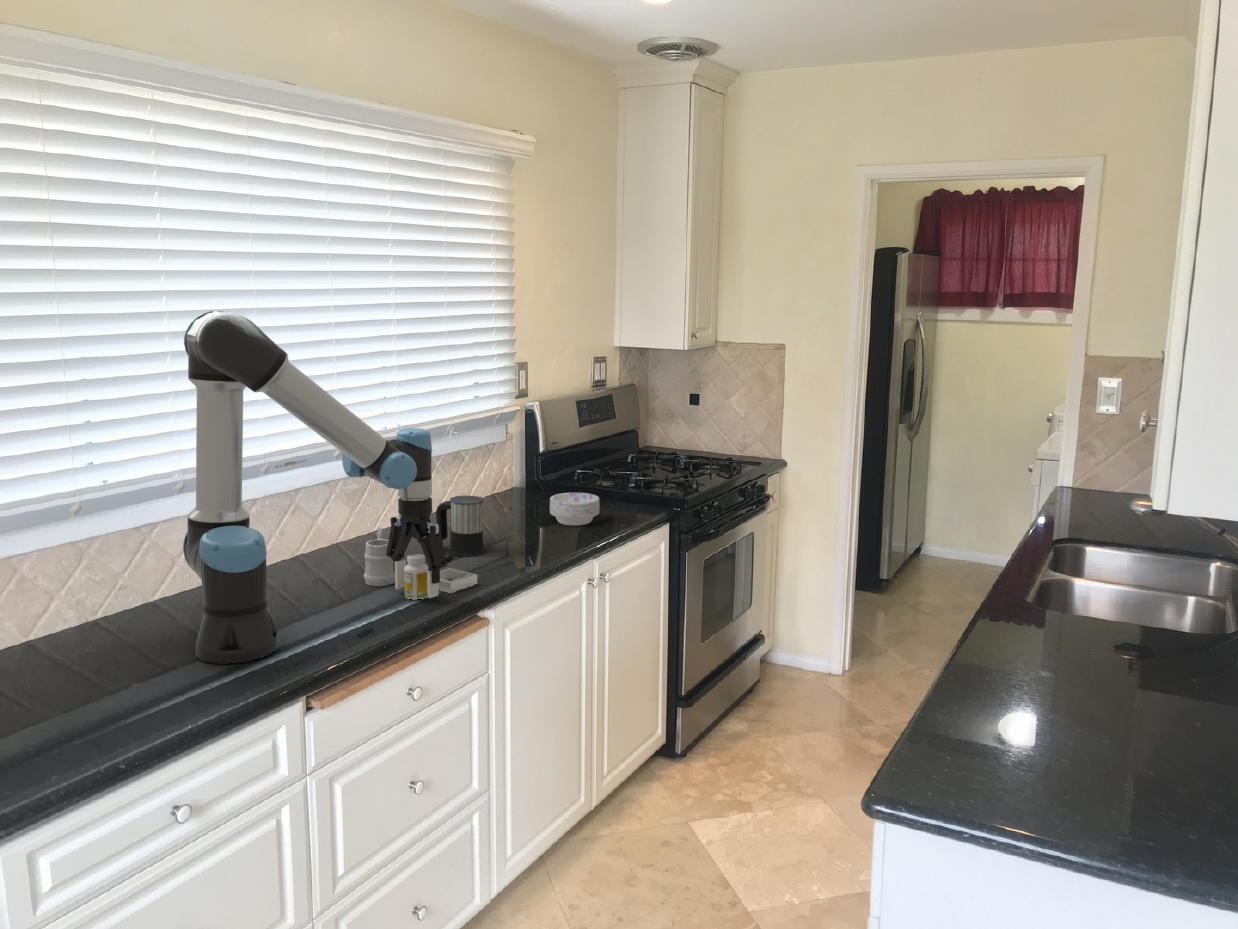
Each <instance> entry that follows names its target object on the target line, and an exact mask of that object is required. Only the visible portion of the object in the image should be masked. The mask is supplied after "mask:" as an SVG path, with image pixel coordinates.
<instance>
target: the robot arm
mask: <svg viewBox="0 0 1238 929" xmlns="http://www.w3.org/2000/svg"><path fill="white" fill-rule="evenodd" d="M183 345H184V350H185V352H186V355H187V357H188V359H187V362H188V364H187V366H188V368H187V369H188V370H187V374H188V375H187V379H188V381H189V382H190V383H191V384H192V385H193V386H195V389H196V420H195V422H196V423H195V424H196V430H195V431H196V432H195V433H196V435H195V437H196V442H195V443H196V447H195V448H196V450H195V452H196V453H195V454H196V455H195V456H196V457H195V458H196V459H195V461H196V462H195V467H196V468H195V474H196V475H195V479H196V480H195V507H194V509H192V510H191V511H190V512H189V513H187V532H186V533H185V535H184V539H183V544H182V546H183V547H182V548H183V549H182V551H183V555H184V559H185V561H186V562H187V565H188V566H189V567H190V569H191V570H192V571H194V573H195V574H196V575H197V576H198V578H199V579H200V580H201V590H202V591H201V592H202V607H203V608H202V610H203V616H202V619H201V623H200V626H199V630H198V634H197V638H196V640H195V656H196V658H197V659H199V660H200V661H203V662H206V663H209V664H216V663H217V664H219V665H226V664H227V665H230V664H229V663H234V664H240V663H239V662H243V663H247V662H252V660H253V661H256V660H255V659H257V660H259V659H258V658H260V657H262V656H266V657H268V656H270V655H272V654H273V653H272V652H274V651H275V650H276V651H277V650H279V648H280V635H279V631H278V629H277V626H276V624H275V622H274V619H273V617H272V615H271V612H270V610H269V597H268V595H269V594H268V592H269V591H268V575H267V570H268V568H267V545H266V540H265V537H264V536H263V534H262V533H261V532H260V531H259V530H258V529H255V528H253V527H251V526H250V523H251V522H250V519H251V518H250V517H251V516H250V512H248V511H247V510H246V509H245V508H244V507H243V450H244V449H243V448H244V447H243V445H244V443H243V442H244V440H243V439H244V438H243V437H244V435H243V434H244V432H243V431H244V391H245V388H246V387H247V388H248V389H249V390H250V391H252V392H253V393H263V394H265V395H266V396H267V397H269V398H270V399H271V400H272V401H274V402H276V404H278V405H279V406H280V407H282V408H283V409H285V410H286V411H287V413H290V414H291V415H292V416H293V417H295V418H296V419H297V420H299V421H300V422H301V423H302V424H304V425H305V426H307V427H308V428H309V429H311V431H313V432H314V433H316V434H317V435H318V436H320V437H321V438H322V439H323V440H325V441H326V442H328V443H329V444H330V445H332V446H333V447H334V448H336V449H337V450H338V451H339V452H341V459H342V460H341V461H342V468H343V471H344V473H345V474H346V476H348V477H349V478H364V477H369V478H370V479H373V480H375V481H377V482H378V483H380V484H383V485H384V486H385V487H387V488H389V489H395V490H397V496H398V497H399V498H398V501H397V506H398V510H397V512H398V514H399V515H397V516H392V517H390V530H389V536H388V540H389V541H388V546H387V552H386V555H387V557H391V558H392V560H393V571H394V574H395V583H394V584H395V585H394V587H395V588H394V589H395V590H400V589H403V588H405V582H404V568H405V566H406V565H407V559H405V558H406V556H405V555H406V554H405V553H406V551H407V549H408V547H409V544H410V542H411V539H412V538H414V539H416V541H417V543H418V544H420V546H421V549H422V551H423V555H424V556H425V561H426V562H427V566H428V570H427V598H428V599H433V598H435V597H438V596H439V590H438V583H439V582H440V571H441V569H442V568H443V569H444V568H446V567H448V562H447V561H448V560H446V554H445V552H444V548H445V546H444V543H443V540H442V537H441V525H440V524H437V523H436V524H435V523H432V522H431V519H430V518H431V517H430V516H431V515H432V513H433V498H432V497H431V496H432V494H433V492H432V491H433V486H432V485H433V481H432V478H433V477H432V462H433V460H432V459H433V458H432V454H433V453H432V452H433V448H432V447H433V446H432V437H431V433H430V431H429V430H427V429H424V428H416V427H415V428H413V427H411V428H410V427H409V428H407V427H406V428H402V429H398V431H396V436H395V438H394V439H389V440H388V439H387V440H386V438H385V437H383V436H382V435H381V434H380V433H379V432H377V431H376V430H375V429H373V428H372V427H371V426H369V424H367V423H366V422H364V421H363V420H362V419H361V418H360V417H359V416H357V415H356V414H355V413H353V411H351V410H350V409H348V408H347V407H346V406H345V405H343V404H342V403H341V402H340V401H339V400H337V399H336V398H335V397H334V396H332V395H331V394H330V393H328V391H326V390H324V388H322V387H321V386H320V385H319V384H317V383H316V382H314V381H313V380H312V379H311V378H310V377H308V375H306V374H305V373H304V372H302V371H301V370H300V369H298V367H296V366H295V365H293V364H292V362H290V361H289V353H287V352H286V351H285V350H284V349H283V348H281V347H280V346H279V345H277V343H276V342H275V341H274V340H272V339H271V338H270V337H269V336H268V335H267V334H265V333H264V332H263V330H262V329H261V328H259V327H258V325H257V324H255V323H254V322H253V321H252V320H250V319H249V318H248V317H245V316H243V315H242V314H238V313H233V312H229V311H223V310H210V311H207V312H204V313H202V314H200V315H197V316H196V317H194V319H193V320H191V321H190V322H189V324H188V325H187V327H186V330H185V332H184V337H183ZM392 549H393V550H392ZM276 651H275V652H276ZM275 652H274V653H275ZM271 653H272V654H271ZM269 654H270V655H269ZM267 655H268V656H267ZM260 659H261V658H260ZM217 664H216V665H217Z"/></svg>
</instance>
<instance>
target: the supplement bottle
mask: <svg viewBox="0 0 1238 929" xmlns="http://www.w3.org/2000/svg"><path fill="white" fill-rule="evenodd" d="M425 562H426V557H425V554H419V553H414V554H409V555H406V566H405V568H404V582H405V587H404V598H405V597H406V598H405V599H407V598H408V599H407V600H409V599H412V600H411V601H418V600H417V599H422V600H425V599H427V598H428V597H427V570H428V569H429V565H428V564H425ZM424 598H425V599H424Z"/></svg>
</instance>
